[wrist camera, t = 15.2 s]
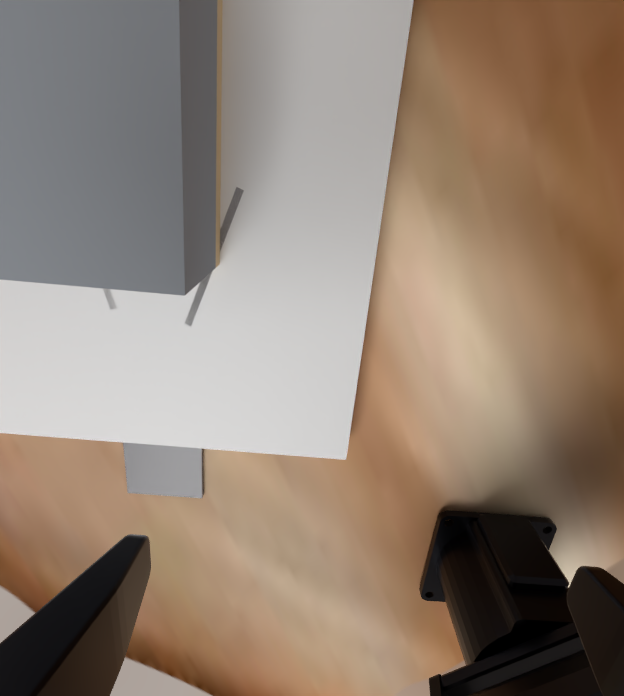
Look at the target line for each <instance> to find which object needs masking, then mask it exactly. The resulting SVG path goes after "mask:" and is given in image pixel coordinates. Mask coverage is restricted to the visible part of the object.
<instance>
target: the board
mask: <svg viewBox="0 0 624 696" xmlns="http://www.w3.org/2000/svg"><path fill="white" fill-rule="evenodd" d="M413 1H414V0H223V3H222V98H221V193H220V265H219V266H217V267H216V268H215V269H214V270H213V271H212V272H211V273H210V274H209V275H207V276H206V277H205V278H204V279H203V280H202V281H201V282H200V283H198V284H197V285H196V286H195V287H194V288H193V289H192V290H191V291H190V292H188V293H187V294H186V295H185V296H183V295H171V294H160V293H149V292H137V291H126V290H114V289H103V288H91V287H80V286H69V285H57V284H46V283H34V282H23V281H12V280H0V433H8V434H21V435H34V436H47V437H60V438H72V439H85V440H98V441H111V442H124V443H137V444H150V445H163V446H176V447H189V448H202V449H215V450H228V451H240V452H253V453H266V454H279V455H292V456H305V457H318V458H331V459H344V460H346V457H347V450H348V443H349V436H350V429H351V423H352V416H353V409H354V402H355V395H356V389H357V382H358V375H359V368H360V361H361V355H362V348H363V341H364V334H365V328H366V321H367V314H368V307H369V300H370V294H371V287H372V280H373V273H374V266H375V260H376V253H377V246H378V239H379V232H380V226H381V219H382V212H383V205H384V198H385V192H386V185H387V178H388V171H389V164H390V158H391V151H392V144H393V137H394V131H395V124H396V117H397V110H398V103H399V97H400V90H401V83H402V76H403V69H404V63H405V56H406V49H407V42H408V35H409V29H410V22H411V15H412V8H413Z"/></svg>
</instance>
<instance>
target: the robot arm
mask: <svg viewBox="0 0 624 696" xmlns="http://www.w3.org/2000/svg"><path fill="white" fill-rule="evenodd" d="M448 519H450V520H449V521H446V520H448ZM556 529H557V528H556V526H555V524H554V523H553V521H552V520H551V519H550V518H545V517H531V516H517V515H504V514H490V513H477V512H463V511H450V510H448V511H443V512H441V513H440V514H439V516H438V518H437V522H436V526H435V530H434V534H433V538H432V542H431V545H430V549H429V553H428V557H427V561H426V565H425V569H424V573H423V576H422V580H421V584H420V588H419V590H420V594H421V597H422V599H424V600H427V601H440V602H446V604H447V607H448V610H449V613H450V617H451V620H452V623H453V626H454V629H455V632H456V635H457V639H458V642H459V645H460V648H461V651H462V654H463V657H464V660H465V664H466V666H464V667H461V668H459V669H456V670H454V671H452V672H449V673H447V674H444V675H442V676H441V675H440V674H438V675H436V676H433V677H431V678H429V685H430V696H624V584H623V583H621V582H620V581H619V580H617V579H616V578H615V577H613V576H612V575H611V574H609V573H608V572H607V571H605V570H604V569H602V568H599V567H589V566H581V567H580V568H578V569H577V571H576V573H575V576H574V578H573V580H572V582H571V585H570V587H569V588H568V585H569V582H568V580H567V578H566V577H565V575H564V574H563V572H562V571H561V569H560V568H559V566H558V564H557V563H556V561H555V560H554V558H553V557H552V555H551V554H550V552H549V548H550V545H551V543H552V540H553V538H554V535H555V533H556ZM150 570H151V558H150V542H149V538H148V537H147V536H145V535H133V534H130V535H127V536H125V537H124V538H123V539H121V540H120V541H119V542H118V543H117V544H116V545H114V546H113V547H112V548H111V549H110V550H109V551H107V552H106V553H105V554H104V555H103V556H102V557H100V558H99V559H98V560H97V561H96V562H95V563H93V564H92V565H91V566H90V567H89V568H88V569H86V570H85V571H84V572H83V573H82V574H81V575H79V576H78V577H77V578H76V579H75V580H74V581H72V582H71V583H70V584H69V585H68V586H67V587H65V588H64V589H63V590H62V591H61V592H60V593H58V594H57V595H56V596H55V597H54V598H53V599H51V600H50V601H49V602H48V603H47V604H46V605H44V606H43V607H42V608H41V609H40V610H39V611H37V612H36V613H35V614H34V615H33V616H32V617H31V618H29V619H28V620H27V621H26V622H25V623H23V624H22V625H21V626H20V627H19V628H18V629H16V630H15V631H14V632H13V633H12V634H11V635H9V636H8V637H7V638H6V639H5V640H4V641H3V642H1V643H0V696H110V694H111V691H112V689H113V686H114V684H115V681H116V679H117V676H118V674H119V671H120V669H121V666H122V663H123V661H124V658H125V655H126V652H127V649H128V645H129V642H130V639H131V636H132V632H133V629H134V626H135V622H136V619H137V616H138V612H139V609H140V606H141V602H142V599H143V596H144V593H145V589H146V586H147V583H148V579H149V575H150Z"/></svg>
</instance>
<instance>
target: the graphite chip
mask: <svg viewBox="0 0 624 696" xmlns="http://www.w3.org/2000/svg"><path fill="white" fill-rule="evenodd" d="M123 446H124V457H125V468H126V478H127V489H128V493H136V494H150V495H164V496H178V497H192V498H202V497H203V449H202V448H189V447H176V446H163V445H150V444H137V443H124V442H123Z"/></svg>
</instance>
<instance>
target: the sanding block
mask: <svg viewBox="0 0 624 696" xmlns="http://www.w3.org/2000/svg"><path fill="white" fill-rule="evenodd" d="M222 3H223V0H0V280H12V281H23V282H34V283H46V284H57V285H69V286H80V287H91V288H103V289H114V290H126V291H137V292H149V293H160V294H171V295H183V296H185V295H186V294H187V293H188V292H190V291H191V290H192V289H193V288H194V287H195V286H196V285H197V284H198V283H200V282H201V281H202V280H203V279H204V278H205V277H206V276H207V275H209V274H210V273H211V272H212V271H213V270H214V269H215V268H216V267H217V266H219V265H220V193H221V98H222Z"/></svg>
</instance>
